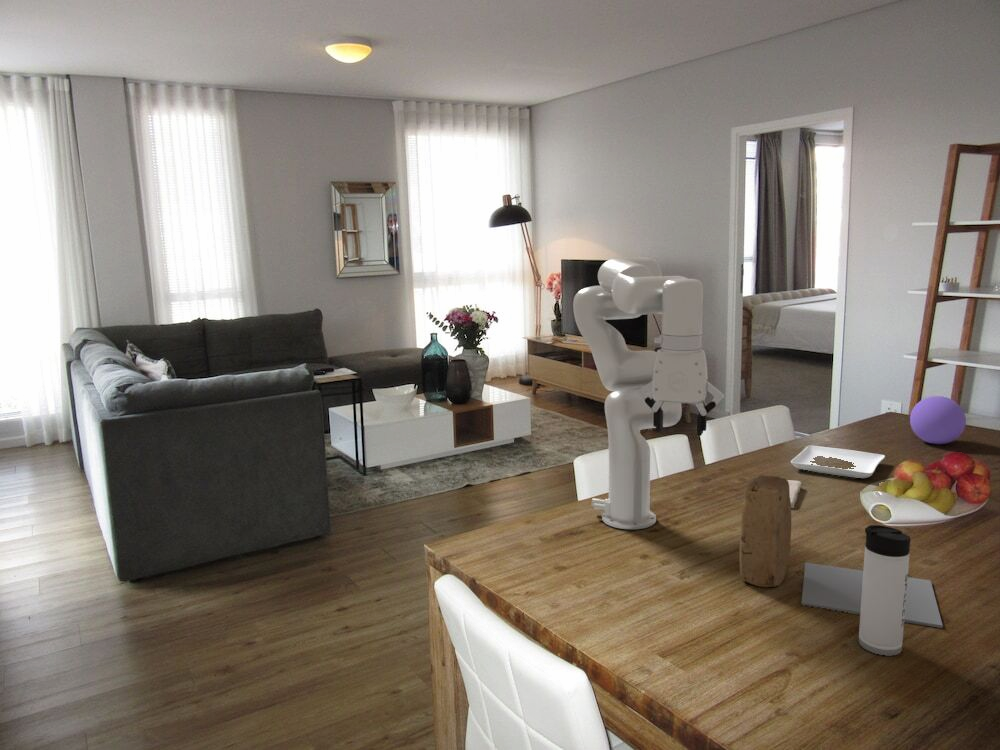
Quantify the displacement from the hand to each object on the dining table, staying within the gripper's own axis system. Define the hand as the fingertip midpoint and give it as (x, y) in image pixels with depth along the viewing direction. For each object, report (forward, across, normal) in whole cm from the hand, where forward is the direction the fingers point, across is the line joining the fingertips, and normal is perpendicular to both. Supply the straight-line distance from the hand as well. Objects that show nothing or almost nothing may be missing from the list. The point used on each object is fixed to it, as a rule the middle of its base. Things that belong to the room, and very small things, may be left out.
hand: (679, 431), depth 146 cm
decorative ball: (+28, +58, +117) cm, 133 cm away
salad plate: (+28, +30, +80) cm, 90 cm away
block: (+28, +17, 0) cm, 33 cm away
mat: (+28, +35, 0) cm, 45 cm away
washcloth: (+29, +15, +50) cm, 60 cm away
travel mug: (+28, +36, -19) cm, 49 cm away
